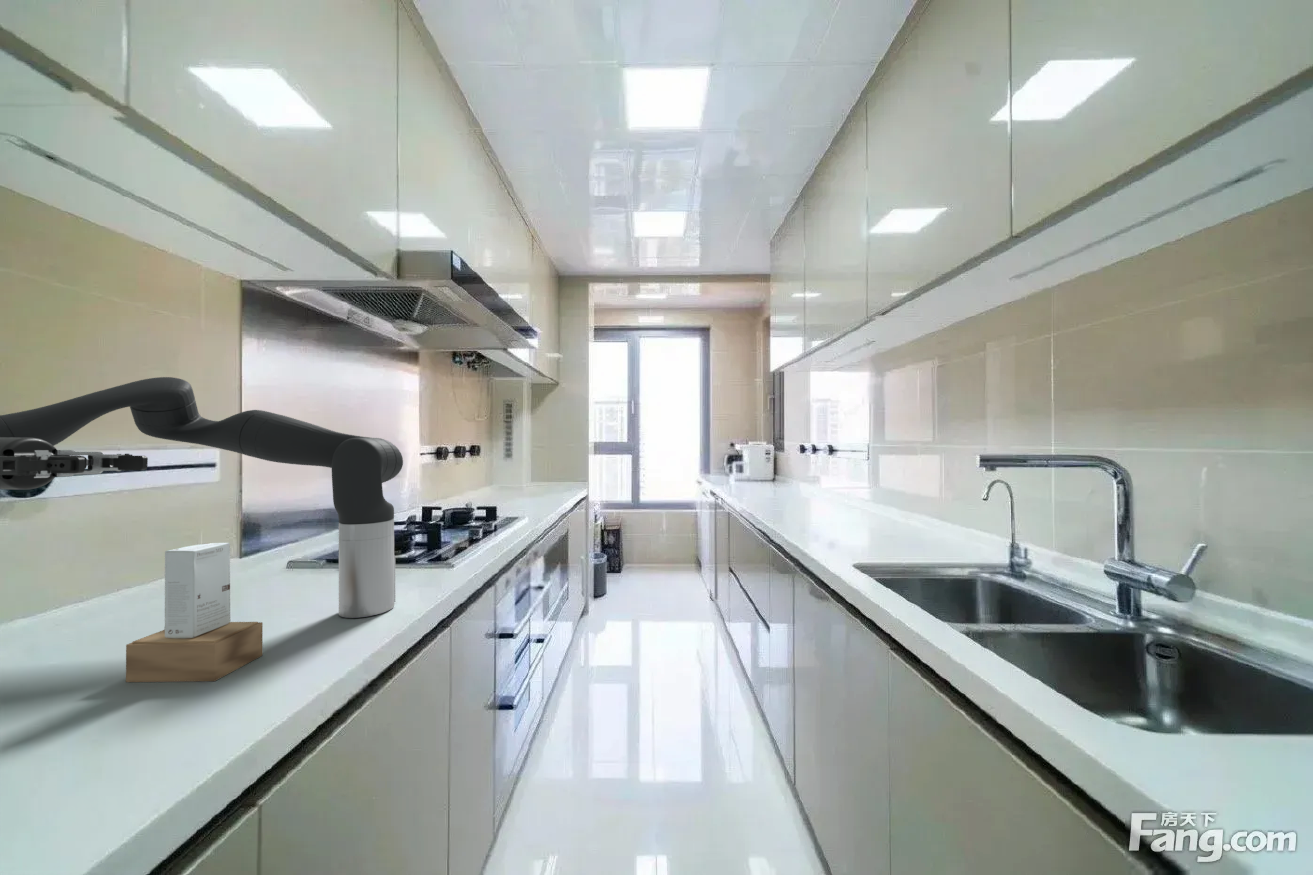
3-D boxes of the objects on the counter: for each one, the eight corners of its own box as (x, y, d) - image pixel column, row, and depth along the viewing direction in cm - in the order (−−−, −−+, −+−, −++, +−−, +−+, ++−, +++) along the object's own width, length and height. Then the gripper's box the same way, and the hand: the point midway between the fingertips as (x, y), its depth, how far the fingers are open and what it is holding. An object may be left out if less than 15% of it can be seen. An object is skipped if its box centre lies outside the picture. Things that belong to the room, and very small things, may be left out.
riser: (183, 656, 74) (183, 621, 74) (262, 655, 74) (262, 620, 74) (126, 682, 66) (126, 642, 66) (214, 681, 66) (214, 642, 66)
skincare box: (194, 638, 67) (194, 550, 67) (161, 639, 67) (162, 551, 67) (232, 622, 73) (233, 541, 74) (203, 622, 73) (203, 542, 74)
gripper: (-73, 436, 63) (58, 437, 64) (58, 438, 78) (164, 438, 78) (-74, 494, 63) (56, 494, 64) (57, 485, 77) (163, 485, 78)
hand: (115, 463), depth 71 cm, fingers open, 8 cm apart
